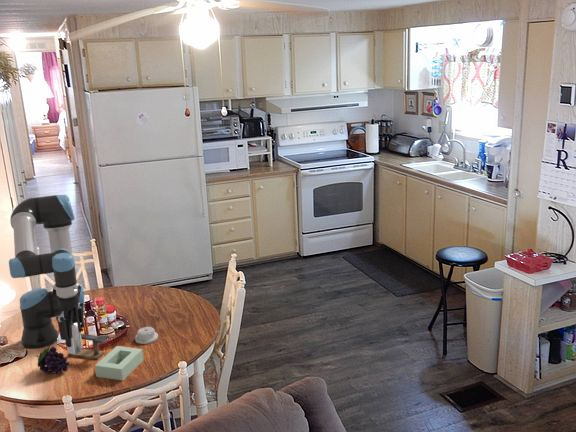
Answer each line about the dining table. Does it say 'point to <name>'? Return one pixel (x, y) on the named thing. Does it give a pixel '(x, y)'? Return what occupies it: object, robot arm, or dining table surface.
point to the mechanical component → (146, 335)
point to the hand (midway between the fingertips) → (75, 350)
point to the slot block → (119, 363)
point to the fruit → (52, 361)
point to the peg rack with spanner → (95, 352)
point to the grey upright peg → (75, 336)
